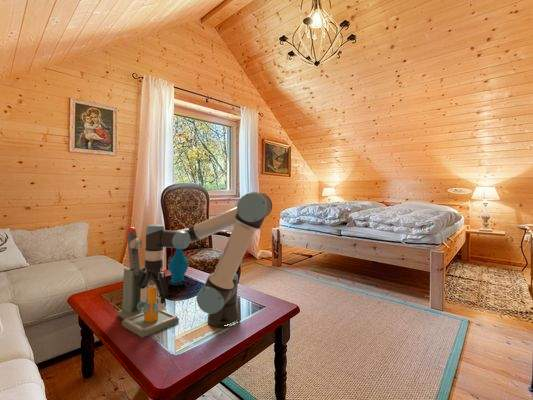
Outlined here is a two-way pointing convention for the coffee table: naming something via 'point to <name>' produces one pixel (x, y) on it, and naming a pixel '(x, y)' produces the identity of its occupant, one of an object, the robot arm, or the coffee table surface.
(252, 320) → the coffee table surface
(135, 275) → the press lever
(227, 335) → the coffee table surface
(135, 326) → the press frame
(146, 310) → the cylinder
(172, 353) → the coffee table surface
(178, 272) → the vase
